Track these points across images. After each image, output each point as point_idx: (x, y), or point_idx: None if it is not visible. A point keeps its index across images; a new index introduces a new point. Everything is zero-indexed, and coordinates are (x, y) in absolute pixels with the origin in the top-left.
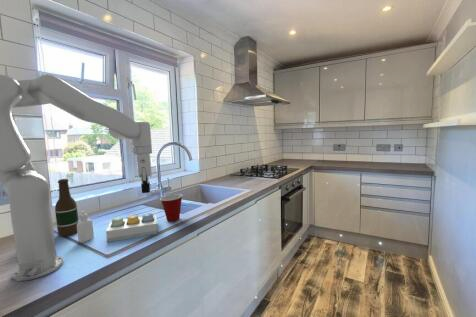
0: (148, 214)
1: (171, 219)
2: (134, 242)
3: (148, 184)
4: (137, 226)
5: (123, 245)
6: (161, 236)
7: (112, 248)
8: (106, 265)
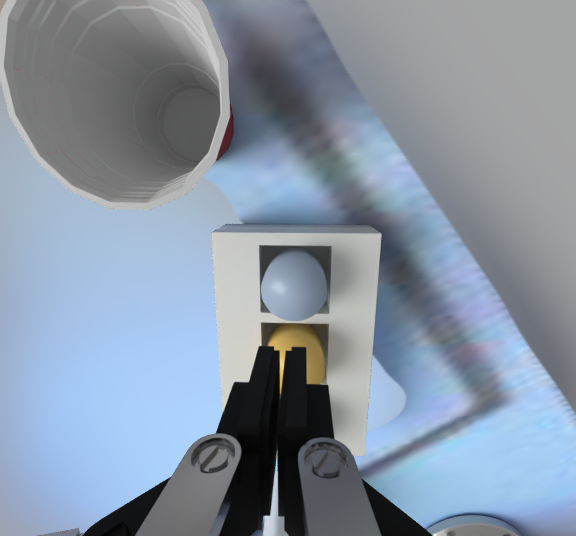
0: (285, 285)
1: (231, 136)
2: (417, 322)
3: (305, 424)
4: (373, 331)
5: (424, 360)
6: (413, 206)
7: (430, 395)
8: (565, 400)
